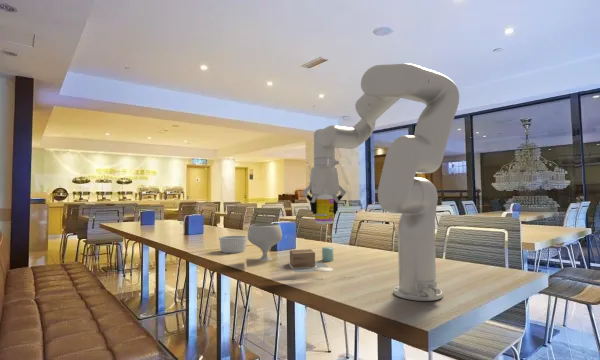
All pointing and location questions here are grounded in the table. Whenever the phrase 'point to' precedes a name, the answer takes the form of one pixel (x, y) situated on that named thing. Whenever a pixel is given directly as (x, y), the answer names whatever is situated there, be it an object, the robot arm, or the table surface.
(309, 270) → the build board
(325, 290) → the table surface
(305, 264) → the walnut plinth
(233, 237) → the ramekin
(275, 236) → the chalice
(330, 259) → the teal post
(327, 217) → the supplement bottle
